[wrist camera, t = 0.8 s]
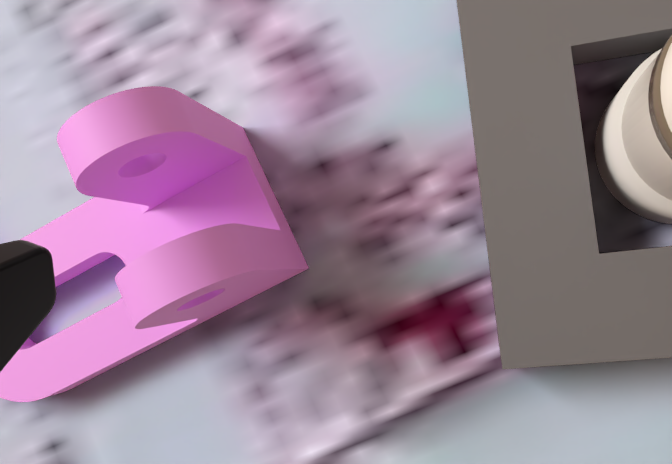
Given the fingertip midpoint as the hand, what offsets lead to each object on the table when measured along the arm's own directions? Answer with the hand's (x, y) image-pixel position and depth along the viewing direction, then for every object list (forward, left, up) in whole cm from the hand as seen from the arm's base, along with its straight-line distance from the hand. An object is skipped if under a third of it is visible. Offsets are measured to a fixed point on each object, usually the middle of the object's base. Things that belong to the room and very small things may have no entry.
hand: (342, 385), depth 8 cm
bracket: (+2, +11, -14) cm, 18 cm away
